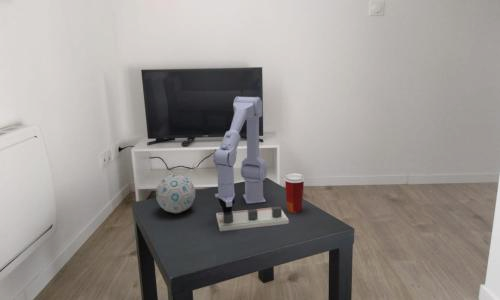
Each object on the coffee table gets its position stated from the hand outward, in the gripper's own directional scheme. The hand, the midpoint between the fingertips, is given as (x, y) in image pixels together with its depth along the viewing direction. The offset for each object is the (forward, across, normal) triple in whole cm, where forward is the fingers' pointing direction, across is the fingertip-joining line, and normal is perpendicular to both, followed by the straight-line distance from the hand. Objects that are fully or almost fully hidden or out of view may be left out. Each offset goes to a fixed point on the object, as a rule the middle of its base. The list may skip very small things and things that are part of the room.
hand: (227, 217), depth 137 cm
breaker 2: (0, +2, +9) cm, 9 cm away
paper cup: (+3, -6, +27) cm, 28 cm away
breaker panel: (+2, -1, +9) cm, 9 cm away
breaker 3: (0, +2, +18) cm, 18 cm away
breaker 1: (0, +2, 0) cm, 2 cm away
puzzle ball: (+3, -16, -18) cm, 24 cm away
